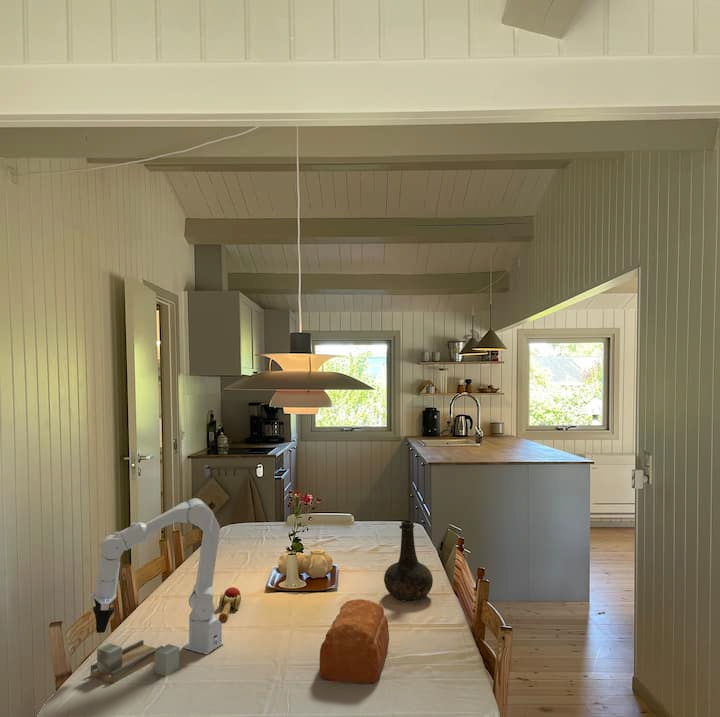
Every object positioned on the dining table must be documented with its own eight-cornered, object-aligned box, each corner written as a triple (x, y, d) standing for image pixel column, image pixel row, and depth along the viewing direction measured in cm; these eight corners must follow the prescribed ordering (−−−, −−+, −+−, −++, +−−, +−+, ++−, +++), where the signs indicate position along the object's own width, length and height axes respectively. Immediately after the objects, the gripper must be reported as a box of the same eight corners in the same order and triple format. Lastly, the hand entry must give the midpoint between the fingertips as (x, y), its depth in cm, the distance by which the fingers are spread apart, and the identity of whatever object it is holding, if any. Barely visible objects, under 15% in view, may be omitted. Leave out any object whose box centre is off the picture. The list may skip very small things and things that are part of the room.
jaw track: (163, 655, 182) (163, 629, 182) (113, 683, 166) (113, 655, 166) (141, 648, 186) (141, 623, 186) (90, 675, 170) (90, 648, 170)
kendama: (237, 625, 207) (246, 597, 224) (233, 608, 206) (242, 581, 224) (214, 629, 207) (225, 601, 224) (210, 612, 206) (221, 585, 224)
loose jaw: (165, 676, 170) (166, 654, 170) (153, 672, 172) (154, 650, 172) (179, 668, 175) (179, 647, 175) (167, 664, 177) (167, 643, 177)
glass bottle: (436, 591, 234) (436, 517, 234) (427, 609, 217) (427, 529, 217) (391, 586, 239) (391, 513, 240) (378, 603, 222) (378, 525, 223)
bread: (316, 680, 168) (316, 626, 168) (336, 641, 192) (336, 593, 192) (378, 687, 165) (378, 631, 165) (390, 646, 189) (390, 597, 189)
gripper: (92, 570, 183) (85, 617, 182) (92, 587, 169) (84, 637, 169) (118, 571, 186) (111, 617, 185) (119, 587, 172) (112, 636, 171)
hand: (100, 626), depth 177 cm, fingers open, 7 cm apart
